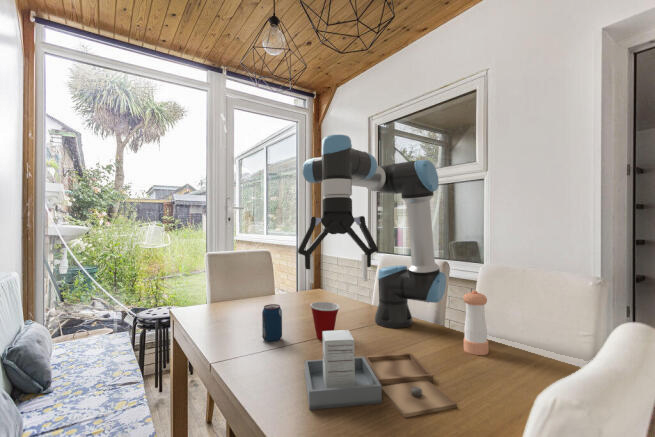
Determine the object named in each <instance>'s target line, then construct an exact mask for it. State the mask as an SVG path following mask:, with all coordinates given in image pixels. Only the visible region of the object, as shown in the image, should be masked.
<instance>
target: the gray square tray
mask: <svg viewBox="0 0 655 437" xmlns="http://www.w3.org/2000/svg"><path fill="white" fill-rule="evenodd" d="M304 381H305V387H306V393H307V394H306V396H307V402H308V403H307V404H308V408H309V410H310V411H311V410H321V409H322V410H323V409H334V408H335V409H336V408H346V407H356V406H358V407H359V406H366V405H378V404H379V405H380V404H382V403H383V402H382V401H383V399H382V398H383V397H382V396H383V395H382V394H383V392H382V386H381V384H380V382H379V381H378V379H377V377H376V376H375V374H374V373H373V371H372V369H371V368H370V366H369V364H368V363H367V361H366V359H365V358H364V356H355V386H351V387H338V388H326V389H325V384H324V380H323V358H322V359H310V360H309V359H308V360H304Z"/></svg>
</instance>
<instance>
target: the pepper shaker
mask: <svg viewBox="0 0 655 437" xmlns="http://www.w3.org/2000/svg"><path fill="white" fill-rule="evenodd" d="M462 299H463V302H464V303H465V321H464V322H465V323H464V327H463V329H464V337H463V350H464V352H465V353H468V354H471V355H476V356H487V355H488V354H489V352H490V350H489V348H490V347H489V340H488V328H487V322H486V316H485V315H486V313H485V312H486V311H485V305H486V304H487V303H488V298H487V296H486V295H484V294H482V293H480V292H478V290H475V289H474V290H472V291H471V292H467V293H465V294H464V295H463V298H462Z"/></svg>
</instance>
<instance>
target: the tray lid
mask: <svg viewBox="0 0 655 437" xmlns="http://www.w3.org/2000/svg"><path fill="white" fill-rule="evenodd" d="M382 394H383V395H384V396H385V397H386V398H387V399H388V400H389V402H390V403H391V404H392V405H393V407H395V409H396V410H397V411H398V412H399V413H400V414H401V416H403V418H404V419H405V418H409V417H410V418H411V417H414V416H420V415H425V414H429V413H430V414H431V413H435V412H442V411H446V410H451V409H455V408H457V407H458V403H456V402H455V401H454V400H453V399H451V398H450V396H448V395H446V394H445V393H444V392H443V391H442V390H440V389H439V388H438V387H437V386H435V384H434V383H433V382H429V381H428V380H419V381H413V382H407V383H401V384H394V385H388V386H382Z"/></svg>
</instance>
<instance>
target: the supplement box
mask: <svg viewBox="0 0 655 437" xmlns="http://www.w3.org/2000/svg"><path fill="white" fill-rule="evenodd" d="M322 337H323V340H322V359H323V380H324V384H325V389H326V388H338V387H351V386H355V357H356V356H355V339H354V337H353V335H352V333H351V331H350V329H339V330H335V329H334V331H322Z"/></svg>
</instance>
